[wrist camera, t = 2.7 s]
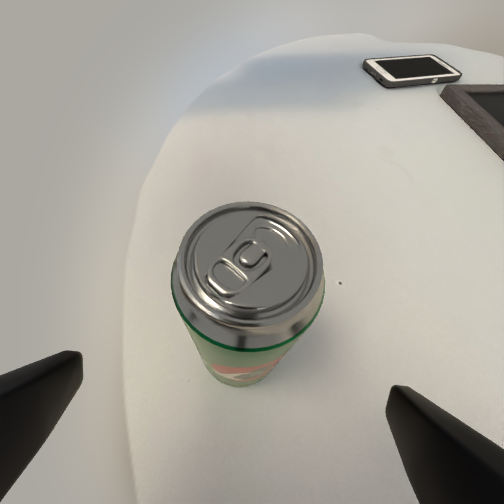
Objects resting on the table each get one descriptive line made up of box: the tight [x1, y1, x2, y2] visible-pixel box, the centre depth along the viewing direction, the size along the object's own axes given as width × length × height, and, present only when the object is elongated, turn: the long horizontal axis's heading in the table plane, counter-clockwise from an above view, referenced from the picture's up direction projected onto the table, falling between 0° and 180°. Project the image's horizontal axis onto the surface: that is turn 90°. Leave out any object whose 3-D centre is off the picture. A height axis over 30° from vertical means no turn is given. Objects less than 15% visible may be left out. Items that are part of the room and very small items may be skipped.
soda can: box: [171, 202, 325, 387], centre depth 13 cm, size 5×5×12 cm
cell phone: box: [363, 55, 462, 87], centre depth 42 cm, size 8×15×1 cm, turn 108°
